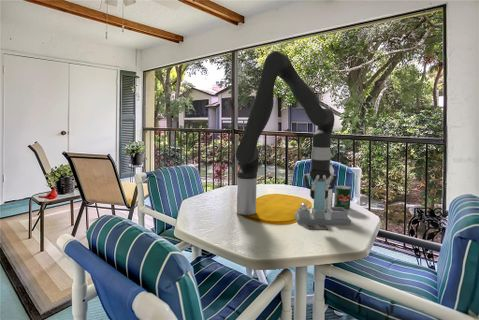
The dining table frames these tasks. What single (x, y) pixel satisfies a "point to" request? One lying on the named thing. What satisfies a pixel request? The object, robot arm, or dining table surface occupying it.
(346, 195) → the canned tomato
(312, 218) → the filter housing
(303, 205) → the plunger
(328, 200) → the water bottle
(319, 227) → the rubber mat
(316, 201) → the blue capsule with label
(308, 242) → the dining table surface
